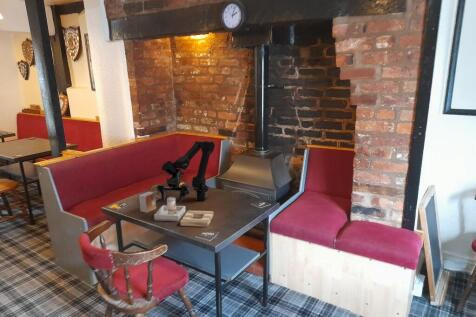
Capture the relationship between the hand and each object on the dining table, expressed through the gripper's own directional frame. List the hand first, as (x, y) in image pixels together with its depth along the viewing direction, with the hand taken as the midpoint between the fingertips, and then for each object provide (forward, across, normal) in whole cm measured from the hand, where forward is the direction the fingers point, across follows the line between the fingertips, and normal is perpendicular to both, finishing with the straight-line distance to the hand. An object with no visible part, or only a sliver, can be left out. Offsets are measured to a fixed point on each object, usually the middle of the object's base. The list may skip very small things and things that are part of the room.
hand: (171, 202), depth 194 cm
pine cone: (-10, -21, +24) cm, 33 cm away
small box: (0, -18, +14) cm, 23 cm away
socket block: (+8, +16, +5) cm, 18 cm away
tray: (+5, -2, +8) cm, 10 cm away
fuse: (+5, 0, +6) cm, 8 cm away
